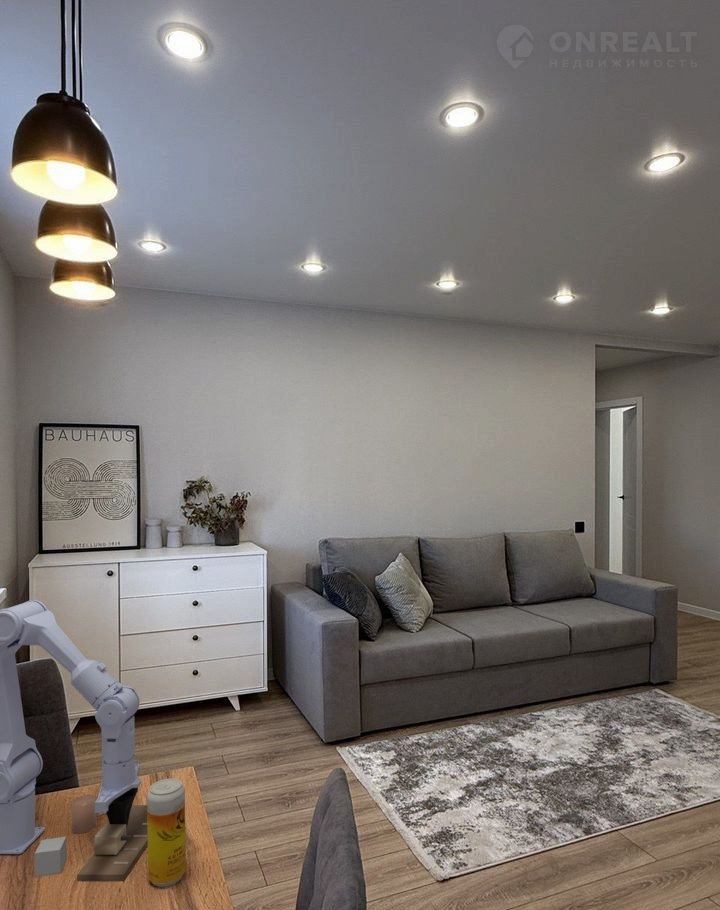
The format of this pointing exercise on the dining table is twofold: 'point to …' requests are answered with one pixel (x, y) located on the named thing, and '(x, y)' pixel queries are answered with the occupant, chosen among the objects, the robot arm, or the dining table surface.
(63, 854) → the grey cube
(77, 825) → the terracotta cylinder
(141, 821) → the board
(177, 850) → the beer can
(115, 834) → the birch slider
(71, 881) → the dining table surface
